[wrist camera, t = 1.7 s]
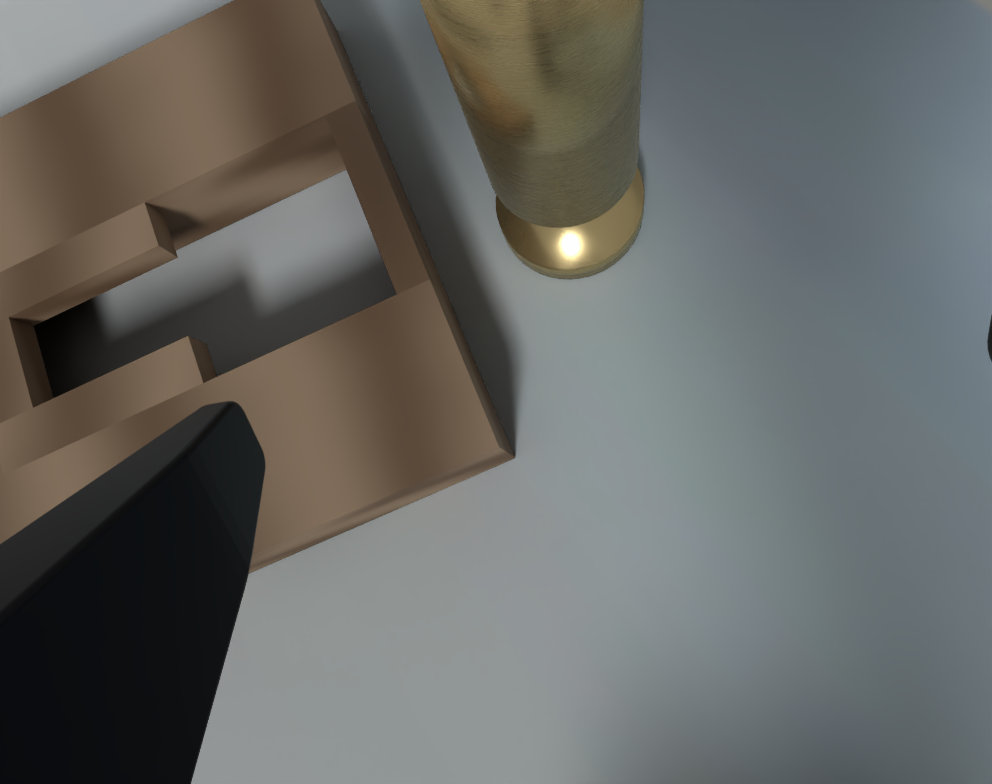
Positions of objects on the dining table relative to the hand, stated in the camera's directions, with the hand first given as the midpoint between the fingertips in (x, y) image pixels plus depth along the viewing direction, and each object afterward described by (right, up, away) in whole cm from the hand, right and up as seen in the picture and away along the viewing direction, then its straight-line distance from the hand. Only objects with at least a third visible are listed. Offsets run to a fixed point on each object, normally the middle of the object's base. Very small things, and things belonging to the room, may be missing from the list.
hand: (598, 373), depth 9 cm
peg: (+1, +5, +15) cm, 16 cm away
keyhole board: (-11, +2, +16) cm, 19 cm away
